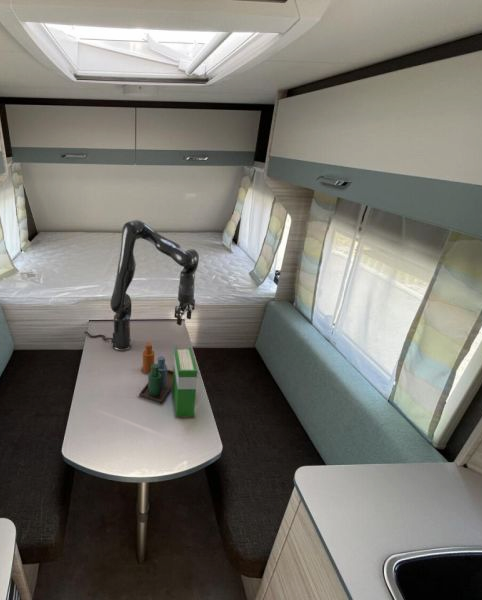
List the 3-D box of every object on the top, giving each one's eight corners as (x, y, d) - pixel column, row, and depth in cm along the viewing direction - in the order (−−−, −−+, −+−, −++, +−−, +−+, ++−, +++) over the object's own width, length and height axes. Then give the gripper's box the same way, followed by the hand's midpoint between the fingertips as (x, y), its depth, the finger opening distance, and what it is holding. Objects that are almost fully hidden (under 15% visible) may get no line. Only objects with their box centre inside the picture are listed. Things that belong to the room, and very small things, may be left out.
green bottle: (145, 395, 152) (146, 367, 145) (151, 388, 156) (151, 360, 150) (157, 399, 149) (158, 371, 143) (162, 392, 154) (163, 364, 148)
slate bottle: (152, 387, 157) (152, 359, 151) (157, 380, 162) (158, 353, 156) (163, 391, 155) (164, 362, 148) (168, 383, 160) (169, 356, 153)
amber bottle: (140, 372, 169) (140, 345, 163) (145, 366, 174) (146, 340, 168) (151, 375, 167) (151, 348, 161) (156, 369, 172) (156, 343, 165)
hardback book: (172, 390, 156) (174, 347, 146) (188, 390, 156) (191, 347, 147) (176, 417, 140) (178, 371, 130) (193, 417, 140) (197, 371, 130)
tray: (139, 397, 152) (139, 393, 151) (159, 370, 171) (160, 367, 170) (161, 404, 147) (161, 401, 146) (179, 376, 166) (180, 373, 165)
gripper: (187, 285, 162) (185, 314, 169) (171, 293, 152) (169, 324, 159) (200, 289, 158) (198, 319, 165) (184, 298, 148) (182, 329, 154)
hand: (184, 321), depth 162 cm, fingers open, 8 cm apart
